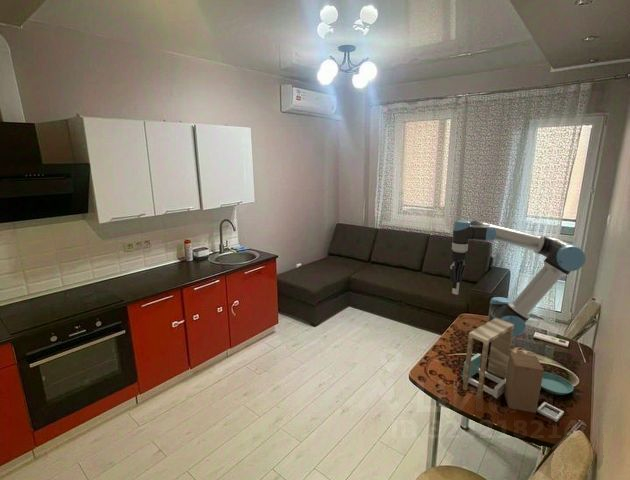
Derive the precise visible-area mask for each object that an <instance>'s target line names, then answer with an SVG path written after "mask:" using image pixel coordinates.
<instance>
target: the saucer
mask: <svg viewBox="0 0 630 480" xmlns="http://www.w3.org/2000/svg"><path fill="white" fill-rule="evenodd" d="M574 389H575V388H574V385H573V384H572V383H571V382H570V381H569V380H567V379H566V378H564V377H563V376H560V375H558V374H555V373H552V372H547V371H543V377H542V383H541V390H544V391H546V392H548V393H550V394H552V395H559V396H560V395H561V396H562V395H563V396H564V395H568V394H570V393H572V392H573V391H574Z"/></svg>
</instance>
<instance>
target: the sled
mask: <svg viewBox="0 0 630 480" xmlns="http://www.w3.org/2000/svg"><path fill="white" fill-rule="evenodd" d="M481 359H482V353H479V352H478V353H477V354H475V355H473V356H471V365H470V373H469V382H468V384H470V385H473V386H475V387H477V388H478V383H479V380H478V381H477V380H476V379H474V378H473V377H474V375H476V374H479V375H480V367H481ZM465 363H466V360H465V361H463V367H462V368H463V369H462V370H463V371H462V381H464V372H465ZM485 378H487V379H489V380H490V381H493V382H494V383H497V384H496V385H495V386H494V388H491V387H489V386H488V385H485V384H484V386H483V392H485V393H487V394H489V395H491V396H492V397H493V398H495V399H497V398H499V397H500V396H501V395H504V388H505V381H506V378H505V379H503V378H501V377H499V376H497V375H495V374H493V373H490V372H488V371H486V370H485Z"/></svg>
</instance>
